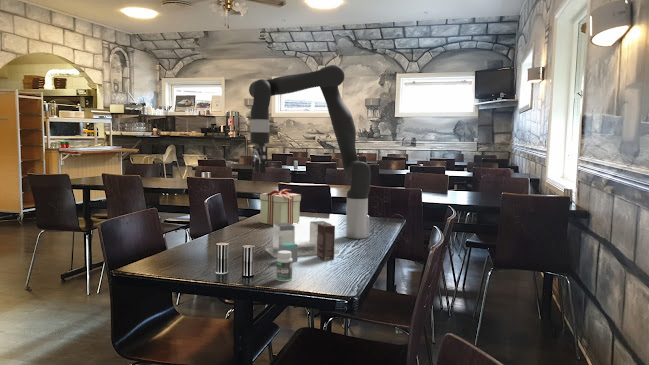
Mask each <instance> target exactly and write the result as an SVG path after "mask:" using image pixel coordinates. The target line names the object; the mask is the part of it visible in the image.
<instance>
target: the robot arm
mask: <svg viewBox="0 0 649 365" xmlns="http://www.w3.org/2000/svg"><path fill="white" fill-rule="evenodd" d="M344 80H345V72H344V70H343V68H342V67H341V66H339V65H336V64H329V65H327V66H324V67H322V68H320V69H318V70H315V71H310V72H309V71H308V72H305V73H296V74H289V75H283V76H277V77H274V78H270V79H258V80H255V81H253V82H251V84H250V85H249V87H248V92H249V95H250V96H251V97H252V98H253V103H252V106H251V108H250V125H249V126H250V127H249V131H250V132H249V134H250V136H249V139H250V141H249V143H250V144H255V145H254V146H252V161H253V164H254V166H253V168H254V169H253V170H254V172H255V173H260V174H266V168H267V166H266V165H267V163H268V161H269V160H268V158H269V157H268V146H266V144H267V145H269V144H270V120H269V119H270V110H269V107H270V103H271V99H272V98H271V97H273V96H281V95H287V94H293V93H296V92H300V91H301V92H302V91H305V90H309V89H313V88H317V87H319V88H320V90H321V93H322V96H323V98H324V101H325V104H326V107H327V111H328V115H329V119H330V122H331V125H332V126H331V127H332V129H333V132H334V135H335V136H334V137H335V138H336V143H337V146H338V150H339V152H340V155H341V156H340V157H341V160H342V167H343V171H344V175H345V177H346V179H347V180H349V182H351V183H350V188H349V190H348V191H347V192H346V217H345V220H346V221H345V223H346V224H345V236H346V238H347V239H348V238H349V239H355V240H356V239H359V240H360V239H367V238H369V237H370V215H368V212H369V210H368V208H369V206H368V205H369V193H370V190H371V180H372V179H371V178H372V172H371V171H372V170H371V168H370V165H369V164H368V163H366V162H365V161H360V159H359V156H358V153H357V150H356V139H357V130H356V126H355V121H354V119H353V116H352V114H351V110H350V109H349V108H348V106H347V104H345V102H344V100H343V99H342V96H341V93H340V88H339V86H340V85H342V84H343V83H344Z"/></svg>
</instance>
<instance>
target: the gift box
mask: <svg viewBox="0 0 649 365" xmlns="http://www.w3.org/2000/svg"><path fill="white" fill-rule="evenodd" d="M290 191H291V192H290ZM259 200H260V213H259V215H260V218H259V222H260V223H261V224H267V225H271V226H273V224H274V223H289V224H292V225H294V224H293V223H297V224H299V223H300V210H301V209H300V206H301V205H300V204H301V200H302V194H300V193H299V194H298V193H293V192H292V189H288V188H282V189H281V190H272V191H269V192H266V193H265V192H264V193H260V194H259ZM298 222H299V223H298Z"/></svg>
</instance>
